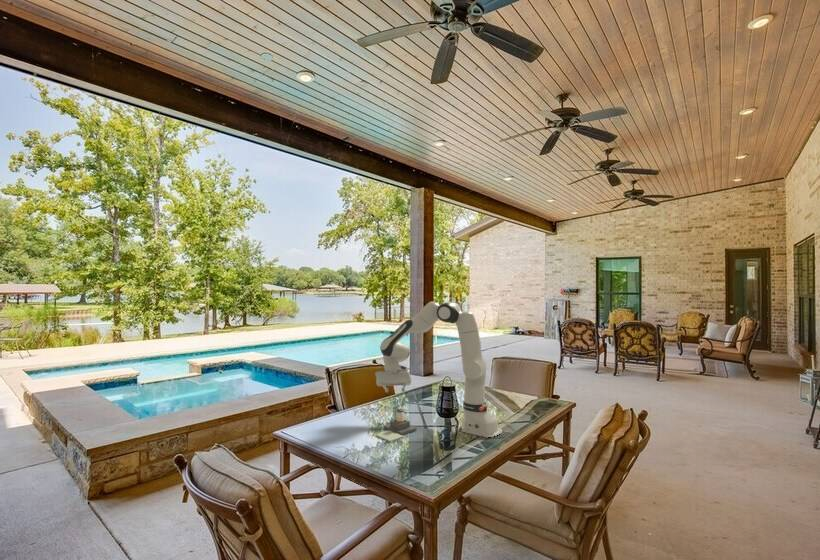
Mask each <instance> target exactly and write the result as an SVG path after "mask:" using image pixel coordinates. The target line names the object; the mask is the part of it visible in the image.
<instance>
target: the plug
mask: <svg viewBox="0 0 820 560" xmlns="http://www.w3.org/2000/svg"><path fill="white" fill-rule="evenodd" d="M395 419H396V422H397V423H403V422H404V419H405V418H404V409H403V408H397V409H396V418H395Z"/></svg>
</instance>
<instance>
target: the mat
mask: <svg viewBox="0 0 820 560" xmlns="http://www.w3.org/2000/svg"><path fill="white" fill-rule="evenodd" d="M375 437H377V438H379V439H382V440H384V441H386V442H389V443H392V442H395V441H398V440H401V439H404V438H405V435H403V436H402V435H400V434H397V433H395V432H392V431H389V430H385V431H383V432H379V433H376V434H375Z"/></svg>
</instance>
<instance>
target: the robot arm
mask: <svg viewBox="0 0 820 560" xmlns="http://www.w3.org/2000/svg"><path fill="white" fill-rule="evenodd" d="M438 320H439V321H441V322H443V323H447V324H455V325H456V328H457V333H458V334H457V335H458V340H459V344H460V352H461V354H460V355H461V362H462V363H461V364H462V372H463V375H464V376H465V379H464V386H463V387H464V389H463V390H464V393H463V402H462V403H463V405H462V408H463V412H462V413H463V414H462V415H463V416H462V421H461V425H460V429H461V430H462V432H463V433H465V434H469V435H470V434H471V435H475V436H477V437H482V436H483V437H482V438H488V437H491V438H495V437H498V436H500V435H501V434H503V430H502V429H501V428H499V425H498V420H497V419H496V418H495V416H493V414H491V412H490V411H488V408H489V407H490V406H489V404H486V402H485V400H486V399H485V394H486V393H485V392H486V391H485V390H486V389H485V387H486V377H487V376H486V374H487V362H486V359H485V358H484V357H483V354H482V353H483V352H482V343H481V337H480V333H479V327H478V323H477V321H476V317H475V315H474V313H473V312H471V311H466V310H465V311H463V307H462V305H461V304H460V303H458V302H456V301H447V302H442V303H441V304H439V303H438V302H435V301H430V302H428V303H427V304H425V306H423V307H422V309H420V311H419V312H418V313H417V314H416V315H415V316H414V317H412V318H410V319H407V320H406V321H404V322H403V323H402V324H401V325H400V326H398V328H396V329H395V330H394V332H392V333H391V334H390V335H389V336H388V337H386V338H384V340H383V341H382V342H381V344H380V347H379V349H380V352H381V354H382V359H383V363H384V365H383V366H384V367H383V368H384V370H383V369H382V370H377V371H376V372H374V375H375V379H376V381H375V382H376V383H375V384H376V386H377V387H382V388H383V389H384V391H385V393H389V388H388V387H391V386H392V387H393V386H402V387H401V392H402V393H405V392H406V391H405V390H406V386H410V385H411V384H412V377H411V374H410V371H408V370H409V369H408V368H409V367H408V366H405V365H401V364H400V363H401V362H404V361H406V360H407V359H408V358H409V356H410V352H411V350H410V347H409V345H408V344H405V343H403V342H399V341H400V340H401V339H402V338H404V337H405V336H406V335H408V334H413V333H414V334H415V333H416V334H417V333H418V334H424V333H427V332H429V331H430V330H431V329H432V328H433V326H435V324H436V322H438ZM499 434H500V435H499ZM497 435H498V436H497ZM494 436H495V437H494ZM488 439H489V438H488Z"/></svg>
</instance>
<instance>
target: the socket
mask: <svg viewBox="0 0 820 560" xmlns="http://www.w3.org/2000/svg"><path fill="white" fill-rule="evenodd" d="M396 419H397V418H395V419H392V420H390V423H388V424H385V425H383V430H385V431H388V430H389V431H392V432H395V433H397V434H400V435H402V436H405V435H408V434H411V433H414V432H417V427H416V426H413V425H411V424H410V423H411V421H410V420H407V419H405V418H404V422H403V423H397V422H396Z"/></svg>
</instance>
